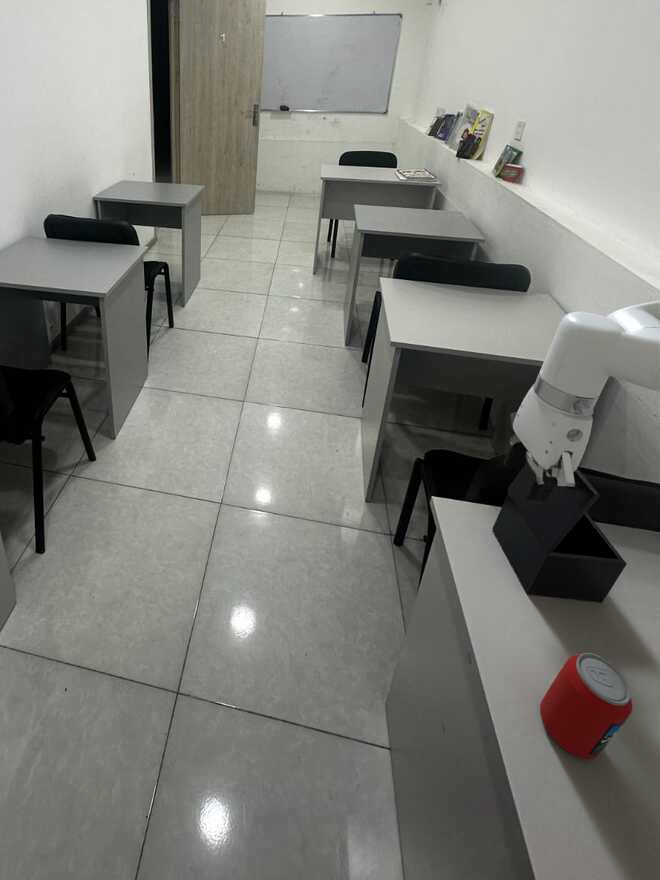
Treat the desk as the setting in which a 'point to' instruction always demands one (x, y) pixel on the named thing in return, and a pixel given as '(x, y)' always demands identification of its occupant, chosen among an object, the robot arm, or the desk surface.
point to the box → (559, 558)
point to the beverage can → (586, 705)
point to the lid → (551, 504)
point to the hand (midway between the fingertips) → (523, 481)
